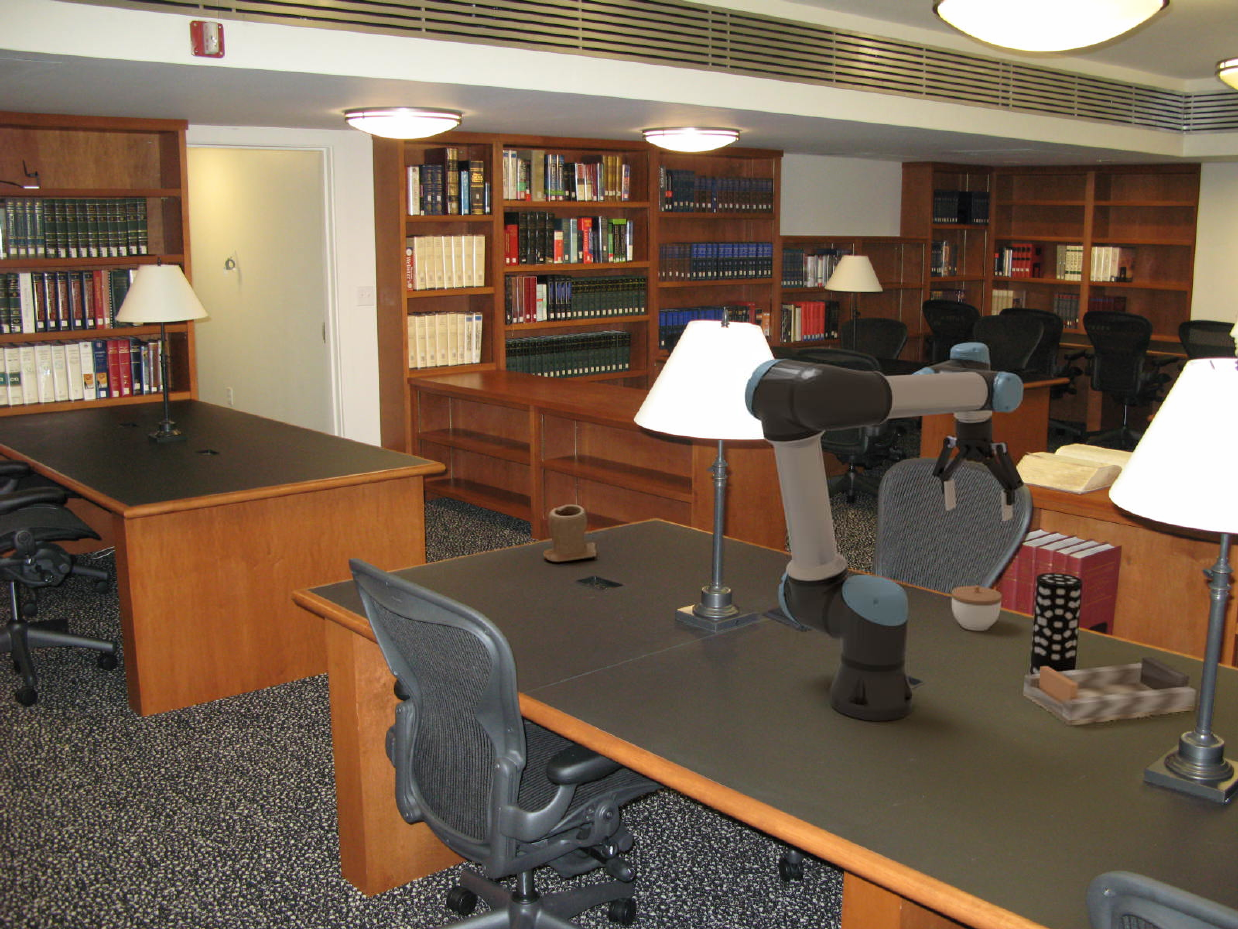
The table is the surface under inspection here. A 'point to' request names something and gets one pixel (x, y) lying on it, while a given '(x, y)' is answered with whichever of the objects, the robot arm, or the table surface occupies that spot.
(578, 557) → the stone cup
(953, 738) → the table surface
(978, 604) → the lidded jar
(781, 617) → the dark navy book
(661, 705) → the table surface
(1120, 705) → the marbled beige tray
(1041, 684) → the block
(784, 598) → the robot arm
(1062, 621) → the white-spotted black cylinder
